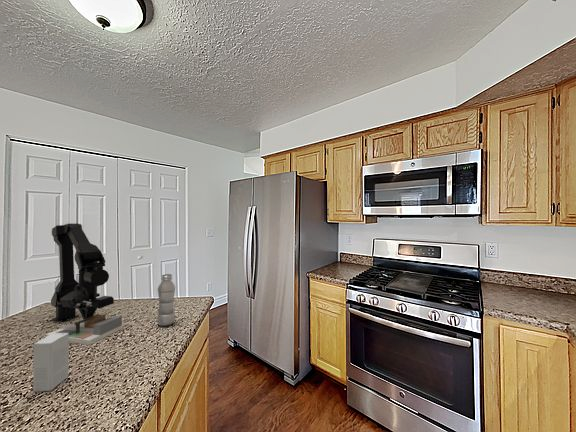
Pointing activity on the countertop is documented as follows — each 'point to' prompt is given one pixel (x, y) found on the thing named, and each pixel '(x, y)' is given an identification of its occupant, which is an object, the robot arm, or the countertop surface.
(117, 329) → the gauge base
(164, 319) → the plastic bottle
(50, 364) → the skincare box
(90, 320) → the slider
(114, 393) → the countertop surface
